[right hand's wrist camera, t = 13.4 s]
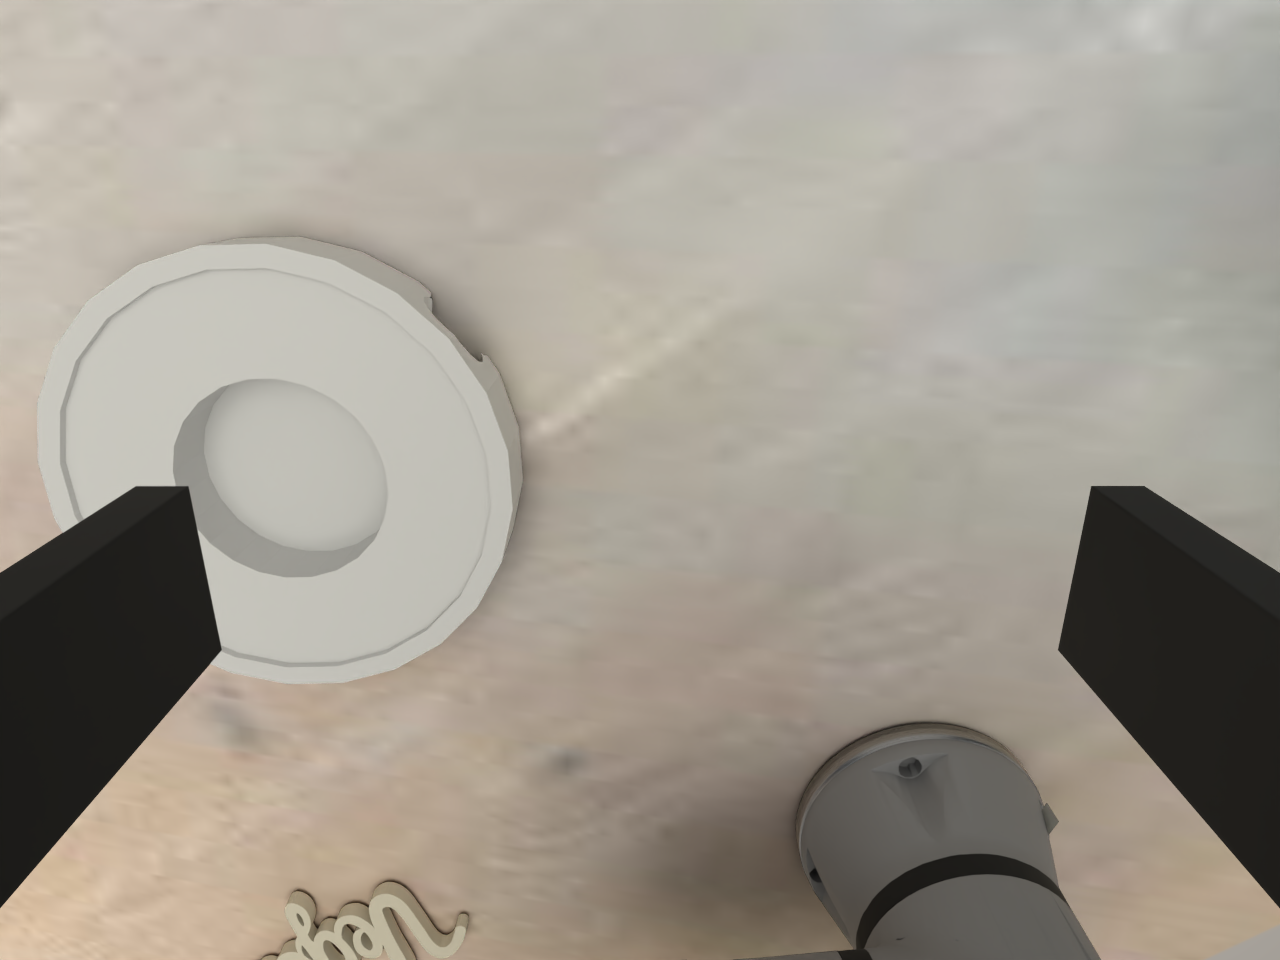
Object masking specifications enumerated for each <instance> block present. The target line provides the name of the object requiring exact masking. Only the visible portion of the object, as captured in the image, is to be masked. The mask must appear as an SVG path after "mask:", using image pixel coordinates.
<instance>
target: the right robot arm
mask: <svg viewBox="0 0 1280 960" xmlns="http://www.w3.org/2000/svg"><path fill="white" fill-rule="evenodd" d="M221 650H222V648H221V643H220V638H219V633H218V628H217V623H216V619H215V614H214V609H213V604H212V599H211V594H210V589H209V584H208V579H207V574H206V569H205V564H204V560H203V555H202V550H201V545H200V540H199V535H198V530H197V525H196V520H195V515H194V510H193V506H192V501H191V496H190V491H189V486H135V487H134V488H132V489H131V490H129V491H127V492H126V493H124V494H123V495H121V496H120V497H118V498H117V499H115V500H113V501H112V502H110V503H109V504H107V505H106V506H104V507H102V508H101V509H99V510H98V511H96V512H95V513H93V514H92V515H90V516H88V517H87V518H85V519H84V520H82V521H81V522H79V523H77V524H76V525H74V526H73V527H71V528H70V529H68V530H67V531H65V532H63V533H62V534H60V535H59V536H57V537H56V538H54V539H53V540H51V541H49V542H48V543H46V544H45V545H43V546H42V547H40V548H38V549H37V550H35V551H34V552H32V553H31V554H29V555H28V556H26V557H24V558H23V559H21V560H20V561H18V562H17V563H15V564H13V565H12V566H10V567H9V568H7V569H6V570H4V571H3V572H1V573H0V908H1V907H2V905H3V904H4V903H5V902H6V901H7V900H8V898H9V897H10V896H11V895H12V894H13V893H14V891H15V890H16V889H17V888H18V887H19V886H20V884H21V883H22V882H23V881H24V880H25V879H26V877H27V876H28V875H29V874H30V873H31V872H32V871H33V869H34V868H35V867H36V866H37V865H38V864H39V862H40V861H41V860H42V859H43V858H44V857H45V855H46V854H47V853H48V852H49V851H50V850H51V848H52V847H53V846H54V845H55V844H56V843H57V841H58V840H59V839H60V838H61V837H62V836H63V834H64V833H65V832H66V831H67V830H68V829H69V827H70V826H71V825H72V824H73V823H74V822H75V820H76V819H77V818H78V817H79V816H80V815H81V813H82V812H83V811H84V810H85V809H86V808H87V806H88V805H89V804H90V803H91V802H92V801H93V799H94V798H95V797H96V796H97V795H98V794H99V793H100V791H101V790H102V789H103V788H104V787H105V786H106V784H107V783H108V782H109V781H110V780H111V779H112V777H113V776H114V775H115V774H116V773H117V772H118V770H119V769H120V768H121V767H122V766H123V765H124V763H125V762H126V761H127V760H128V759H129V758H130V756H131V755H132V754H133V753H134V752H135V751H136V749H137V748H138V747H139V746H140V745H141V744H142V742H143V741H144V740H145V739H146V738H147V737H148V735H149V734H150V733H151V732H152V731H153V730H154V728H155V727H156V726H157V725H158V724H159V723H160V721H161V720H162V719H163V718H164V717H165V716H166V715H167V713H168V712H169V711H170V710H171V709H172V708H173V706H174V705H175V704H176V703H177V702H178V701H179V699H180V698H181V697H182V696H183V695H184V694H185V692H186V691H187V690H188V689H189V688H190V687H191V685H192V684H193V683H194V682H195V681H196V680H197V678H198V677H199V676H200V675H201V674H202V673H203V671H204V670H205V669H206V668H207V667H208V666H209V664H210V663H211V662H212V661H213V660H214V659H215V657H216V656H217V655H218V654H219V653H220V652H221ZM1058 650H1059V652H1060V653H1061V654H1062V655H1063V656H1064V657H1065V659H1066V660H1067V661H1068V662H1069V663H1070V664H1071V666H1072V667H1073V668H1074V669H1075V670H1076V671H1077V673H1078V674H1079V675H1080V676H1081V677H1082V678H1083V680H1084V681H1085V682H1086V683H1087V684H1088V685H1089V687H1090V688H1091V689H1092V690H1093V691H1094V692H1095V694H1096V695H1097V696H1098V697H1099V698H1100V699H1101V701H1102V702H1103V703H1104V704H1105V705H1106V706H1107V708H1108V709H1109V710H1110V711H1111V712H1112V713H1113V715H1114V716H1115V717H1116V718H1117V719H1118V720H1119V721H1120V723H1121V724H1122V725H1123V726H1124V727H1125V728H1126V730H1127V731H1128V732H1129V733H1130V734H1131V735H1132V737H1133V738H1134V739H1135V740H1136V741H1137V742H1138V744H1139V745H1140V746H1141V747H1142V748H1143V749H1144V751H1145V752H1146V753H1147V754H1148V755H1149V756H1150V758H1151V759H1152V760H1153V761H1154V762H1155V763H1156V765H1157V766H1158V767H1159V768H1160V769H1161V770H1162V772H1163V773H1164V774H1165V775H1166V776H1167V777H1168V779H1169V780H1170V781H1171V782H1172V783H1173V784H1174V786H1175V787H1176V788H1177V789H1178V790H1179V791H1180V793H1181V794H1182V795H1183V796H1184V797H1185V798H1186V799H1187V801H1188V802H1189V803H1190V804H1191V805H1192V806H1193V808H1194V809H1195V810H1196V811H1197V812H1198V813H1199V815H1200V816H1201V817H1202V818H1203V819H1204V820H1205V822H1206V823H1207V824H1208V825H1209V826H1210V827H1211V829H1212V830H1213V831H1214V832H1215V833H1216V834H1217V836H1218V837H1219V838H1220V839H1221V840H1222V841H1223V843H1224V844H1225V845H1226V846H1227V847H1228V848H1229V850H1230V851H1231V852H1232V853H1233V854H1234V855H1235V857H1236V858H1237V859H1238V860H1239V861H1240V862H1241V864H1242V865H1243V866H1244V867H1245V868H1246V869H1247V871H1248V872H1249V873H1250V874H1251V875H1252V876H1253V877H1254V879H1255V880H1256V881H1257V882H1258V883H1259V884H1260V886H1261V887H1262V888H1263V889H1264V890H1265V891H1266V893H1267V894H1268V895H1269V896H1270V897H1271V898H1272V900H1273V901H1274V902H1275V903H1276V904H1277V905H1278V907H1279V908H1280V573H1279V572H1277V571H1276V570H1274V569H1273V568H1271V567H1270V566H1268V565H1267V564H1265V563H1263V562H1262V561H1260V560H1259V559H1257V558H1256V557H1254V556H1252V555H1251V554H1249V553H1248V552H1246V551H1245V550H1243V549H1242V548H1240V547H1238V546H1237V545H1235V544H1234V543H1232V542H1231V541H1229V540H1227V539H1226V538H1224V537H1223V536H1221V535H1220V534H1218V533H1217V532H1215V531H1213V530H1212V529H1210V528H1209V527H1207V526H1206V525H1204V524H1203V523H1201V522H1199V521H1198V520H1196V519H1195V518H1193V517H1192V516H1190V515H1188V514H1187V513H1185V512H1184V511H1182V510H1181V509H1179V508H1178V507H1176V506H1174V505H1173V504H1171V503H1170V502H1168V501H1167V500H1165V499H1163V498H1162V497H1160V496H1159V495H1157V494H1156V493H1154V492H1153V491H1151V490H1149V489H1148V488H1146V487H1145V486H1091V491H1090V496H1089V501H1088V506H1087V510H1086V515H1085V520H1084V525H1083V530H1082V535H1081V540H1080V545H1079V550H1078V555H1077V560H1076V564H1075V569H1074V574H1073V579H1072V584H1071V589H1070V594H1069V599H1068V604H1067V609H1066V614H1065V619H1064V623H1063V628H1062V633H1061V638H1060V643H1059V648H1058ZM1058 822H1059V821H1058V820H1057V818H1056V816H1055V815H1054V813H1053V812H1052V810H1051V809H1050V807H1049V805H1048V804H1047V803H1046V805H1045V806H1044V805H1043V803H1042V800H1041V797H1040V794H1039V792H1038V790H1037V788H1036V786H1035V785H1034V783H1033V782H1032V780H1031V778H1030V777H1029V775H1028V774H1027V772H1026V771H1025V769H1024V768H1023V766H1022V765H1021V763H1020V762H1019V761H1018V759H1017V758H1016V757H1015V756H1014V755H1013V754H1012V753H1011V752H1010V751H1009V750H1008V749H1007V748H1005V747H1004V746H1002V745H1001V744H1000V743H998V742H997V741H995V740H993V739H991V738H990V737H988V736H986V735H983V734H981V733H979V732H976V731H973V730H970V729H967V728H963V727H959V726H953V725H947V724H933V723H929V724H912V725H905V726H899V727H894V728H890V729H887V730H883V731H880V732H877V733H875V734H872V735H869V736H867V737H865V738H863V739H860V740H859V741H857V742H855V743H853V744H851V745H850V746H848V747H847V748H845V749H843V750H842V751H840V752H839V753H838V754H837V755H835V756H834V757H833V758H832V759H830V760H829V761H828V762H827V763H826V764H825V765H824V766H823V767H822V768H821V769H820V771H819V772H818V773H817V774H816V775H815V777H814V778H813V779H812V781H811V782H810V784H809V785H808V787H807V789H806V791H805V792H804V795H803V797H802V799H801V802H800V805H799V808H798V812H797V818H796V840H797V845H798V849H799V854H800V858H801V862H802V866H803V869H804V872H805V874H806V876H807V878H808V880H809V882H810V884H811V887H812V889H813V890H814V892H815V894H816V895H817V897H818V898H819V899H820V901H821V902H822V904H823V905H824V907H825V908H826V910H827V911H828V912H829V914H830V915H831V917H832V918H833V920H834V921H835V922H836V924H837V925H838V927H839V928H840V930H841V931H842V932H843V934H844V935H845V937H846V938H847V940H848V941H849V943H850V944H851V945H852V947H853V948H854V950H845V951H828V952H817V953H806V954H795V955H785V956H774V957H763V958H749V959H735V960H1101V959H1100V957H1099V955H1098V954H1097V952H1096V950H1095V949H1094V947H1093V945H1092V944H1091V942H1090V940H1089V939H1088V937H1087V935H1086V933H1085V932H1084V930H1083V928H1082V927H1081V925H1080V923H1079V922H1078V920H1077V918H1076V917H1075V915H1074V913H1073V911H1072V910H1071V908H1070V906H1069V905H1068V903H1067V901H1066V899H1065V898H1064V896H1063V894H1062V892H1061V891H1060V889H1059V886H1058V880H1057V875H1056V870H1055V865H1054V860H1053V855H1052V850H1051V845H1050V841H1049V834H1050V832H1051V831H1052V830H1053V828H1054V827H1055V826H1056V825H1057V823H1058Z"/></svg>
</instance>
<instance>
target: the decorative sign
mask: <svg viewBox="0 0 1280 960" xmlns="http://www.w3.org/2000/svg"><path fill="white" fill-rule="evenodd" d="M390 908H393V909H394V910H395V911H396V912H397V913H398V914H399V915H400V916H401V917H402V919H403V920H404V921H405V923H406V924H407V926H408V927H409V929H410V930H411V932H412V933H413V935H414V936H415V937H416V939H417V940H418V941H419V943H420V944H421V946H422V947H423V948H424V949H425V950H426V952H428V953H429V954H430V955H432V956H434V957H436V958H442V959H443V958H448V957H450V956H451V955H453V954H454V953H455V952H456V951H457V950H458V949H459V947H460V946H461V944H462V942H463V940H464V937H465V934H466V929H467V925H468V920H469V917H468V915H466V914H460V915H459V916H458V920H457V924H456V927H455V929H454V930H453V932H452V933H450V934H448V935H443V934H441V933H440V932H439V931H437V929H436V928H435V927H434V926H433V924H432V923H431V921H430V920H429V918H428V917H427V915H426V914H425V912H424V911H423V909H422V908H421V906H420V905H419V904H418V902H417V901H416V899H415V898H414V896H413V895H412V894H411V893H410V892H409V891H408V890H407V889H406V888H405V887H403V886H402V885H400V884H397V883H394V882H385V883H382V884H380V885H379V886H377V888H376V889H375V891H374V893H373V896H372V899H371V901H370V904H369V908H368V907H367V906H365V905H363V904H360V903H351V904H347V905H345V906H344V907H343V908H342V909H341V910H340V913H339V915H338V918H337V920H336V919H333V918H328V919H325V920H323V921H322V922H321V924H320V926H319V928H318V929H317V928H316V927H315V925H314V923H313V921H314V919H315V916H316V907H315V904H314V902H313V900H312V899H311V898H310V897H309V896H308V895H307V894H305V893H303V892H300V891H296V892H293V893H292V895H291V897H290V899H289V901H288V903H287V905H286V907H285V915H286V918H287V920H288V921H289V923H290V925H291V927H292V929H293V930H294V932H295V934H296V935H297V938H296V940H291V941H288V942H287V943H285V944H284V946H283V948H282V950H281V952H280V954H279V957H277V956H274V955H269V956H266V957H264V958H262V959H261V960H361V959H362V956H363V957H366V958H377V957H379V956H380V955H381V954H382V951H383V948H385V951H386V953H387V955H388V957H389V959H390V960H416V958H415V955H414V953H413V952H412V950H411V948H410V946H409V945H408V943H407V941H406V940H405V938H404V936H403V934H402V933H401V931H400V929H399V927H398V925H397V923H396V921H395V919H394V916H393V914H392V912H391V910H390ZM346 924H352V925H355V926H357V927H356V929H355V932H354V933H353V932H352V931H351V930H350V929H349V928H348V927H347V925H346ZM331 942H332V943H333V944H335V945H336V946H337V947H338V948H339V949H340V951H341V952H342V953H343V955H342V954H340V953H339V952H338V951H337V950H336V949H335V948H334V946H333V945H332V943H331Z"/></svg>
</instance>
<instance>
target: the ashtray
mask: <svg viewBox="0 0 1280 960" xmlns="http://www.w3.org/2000/svg"><path fill="white" fill-rule="evenodd" d="M481 354H482V353H481ZM482 356H483V358H482V362H479V361H477V360H476V359H475V358H474V357H473V356H472V355H470V353H469V352H468V351H467V350H466V349H465V348H464V347H463V345H462V344H461V343H460V342H459V341H458V339H457V338H456V336H455V335H454V334H453V333H452V332H450V331H449V330H448V329H447V328H446V327H445V326H444V325H443V324H442V323H441V322H440V321H439V320H438V319H436V317H435V316H434V315H433V314H432V297H431V292H430V291H429V290H428V289H427V288H425V287H424V286H423V285H422V284H421V283H420V282H419V281H417V280H415V279H413V278H411V277H409V276H407V275H406V274H404V273H402V272H400V271H398V270H396V269H394V268H392V267H390V266H389V265H387V264H385V263H383V262H381V261H379V260H377V259H375V258H373V257H372V256H370V255H368V254H366V253H364V252H362V251H358V250H354V249H350V248H346V247H342V246H338V245H333V244H329V243H325V242H321V241H317V240H313V239H309V238H305V237H301V236H297V237H256V238H236V239H230V240H225V241H220V242H214V243H209V244H203V245H198V246H195V247H192V248H189V249H186V250H183V251H180V252H176V253H173V254H170V255H167V256H164V257H161V258H158V259H155V260H151V261H148V262H145V263H142V264H139V265H137V266H135V267H134V268H133V269H131V270H130V271H128V272H127V273H126V274H124V275H123V276H121V277H120V278H119V279H117V280H116V281H114V282H113V283H112V284H110V285H109V286H107V287H106V288H105V289H103V290H102V291H100V292H99V293H98V294H96V295H95V296H93V297H92V298H91V299H89V300H88V301H87V302H86V304H85V305H84V307H83V308H82V309H81V311H80V312H79V314H78V315H77V316H76V318H75V319H74V321H73V322H72V323H71V325H70V326H69V328H68V329H67V330H66V332H65V333H64V335H63V336H62V337H61V339H60V340H59V342H58V343H57V344H56V346H55V347H54V349H53V353H52V356H51V359H50V363H49V366H48V369H47V373H46V376H45V379H44V382H43V386H42V389H41V392H40V396H39V399H38V402H37V437H38V464H39V468H40V471H41V474H42V478H43V481H44V485H45V488H46V491H47V495H48V498H49V502H50V505H51V509H52V512H53V515H54V519H55V520H56V522H57V524H58V526H59V527H60V529H61V531H62V532H65V531H67V530H68V529H70V528H71V527H73V526H74V525H76V524H77V523H79V522H81V521H82V520H84V519H85V518H87V517H88V516H90V515H92V514H93V513H95V512H96V511H98V510H99V509H101V508H102V507H104V506H106V505H107V504H109V503H110V502H112V501H113V500H115V499H117V498H118V497H120V496H121V495H123V494H124V493H126V492H127V491H129V490H131V489H132V488H134V487H135V486H189V491H190V496H191V501H192V506H193V510H194V515H195V520H196V525H197V530H198V535H199V540H200V545H201V550H202V555H203V560H204V564H205V569H206V574H207V579H208V584H209V589H210V594H211V599H212V604H213V609H214V614H215V619H216V623H217V628H218V633H219V638H220V643H221V648H222V650H221V652H220V653H219V654H218V655H217V656H216V657H215V659H214V660H213V661H212V662H211V663H210V664H211V665H214V666H216V667H218V668H221V669H223V670H225V671H228V672H230V673H234V674H239V675H244V676H249V677H254V678H259V679H264V680H269V681H274V682H279V683H284V684H315V683H345V682H348V681H352V680H356V679H360V678H364V677H368V676H372V675H376V674H379V673H383V672H387V671H391V670H395V669H397V668H398V667H400V666H402V665H404V664H406V663H407V662H409V661H411V660H413V659H415V658H416V657H418V656H420V655H422V654H424V653H425V652H427V651H429V650H431V649H433V648H434V647H436V646H438V645H440V644H441V643H442V642H443V641H444V640H445V639H446V638H447V637H448V636H449V635H450V634H451V633H452V632H453V631H454V630H455V629H456V628H457V627H458V626H459V625H460V624H461V623H462V622H463V621H464V620H465V619H466V618H467V617H468V616H469V615H470V614H471V613H472V612H473V611H474V610H475V609H476V608H477V607H478V605H479V603H480V601H481V599H482V598H483V596H484V594H485V592H486V590H487V588H488V587H489V585H490V583H491V581H492V579H493V577H494V575H495V574H496V572H497V570H498V568H499V566H500V564H501V563H502V560H503V557H504V554H505V551H506V548H507V546H508V543H509V540H510V537H511V534H512V531H513V527H514V522H515V518H516V513H517V508H518V503H519V498H520V493H521V489H522V484H523V472H522V459H521V446H520V433H519V426H518V423H517V420H516V417H515V414H514V412H513V409H512V406H511V403H510V400H509V398H508V395H507V392H506V389H505V387H504V384H503V381H502V378H501V375H500V373H499V372H498V370H497V369H496V367H495V366H494V364H493V363H492V361H491V360H490V358H489V357H488V356H486V355H483V354H482Z"/></svg>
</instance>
